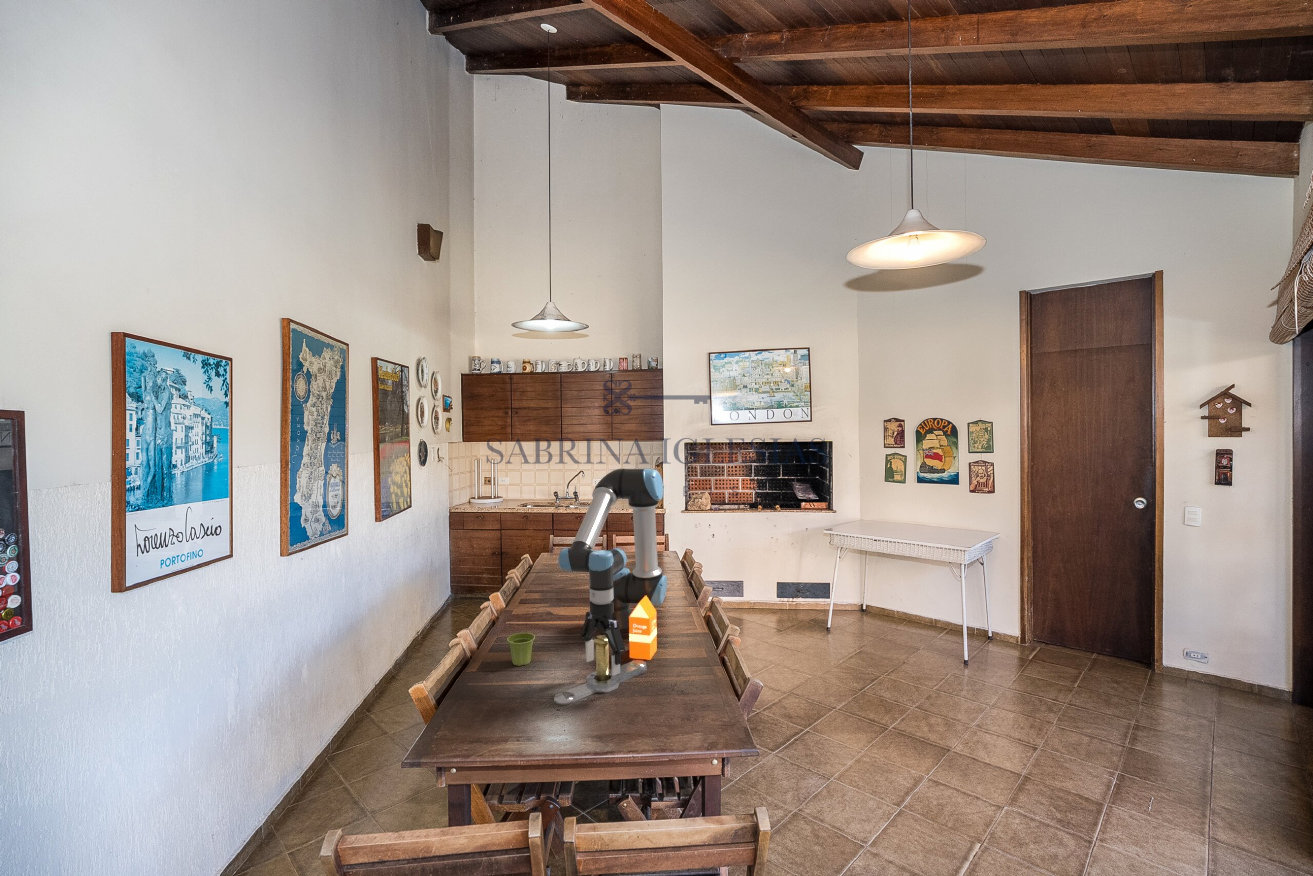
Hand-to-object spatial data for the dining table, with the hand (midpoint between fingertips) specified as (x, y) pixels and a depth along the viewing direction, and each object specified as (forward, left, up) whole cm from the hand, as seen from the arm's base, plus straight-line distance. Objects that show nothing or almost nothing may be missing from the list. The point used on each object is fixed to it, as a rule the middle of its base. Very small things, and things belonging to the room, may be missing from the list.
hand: (602, 667), depth 186 cm
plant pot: (-33, -10, -6) cm, 35 cm away
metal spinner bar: (0, 0, -6) cm, 6 cm away
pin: (0, 0, -6) cm, 6 cm away
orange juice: (-9, +25, -6) cm, 27 cm away
